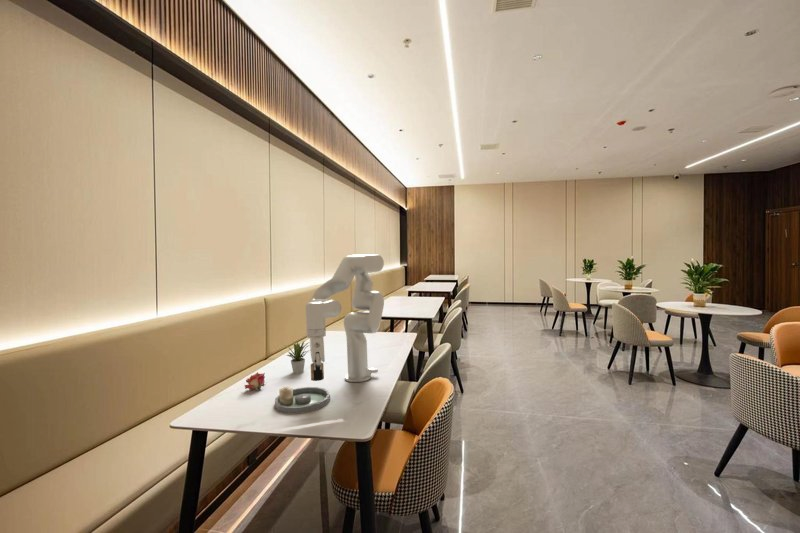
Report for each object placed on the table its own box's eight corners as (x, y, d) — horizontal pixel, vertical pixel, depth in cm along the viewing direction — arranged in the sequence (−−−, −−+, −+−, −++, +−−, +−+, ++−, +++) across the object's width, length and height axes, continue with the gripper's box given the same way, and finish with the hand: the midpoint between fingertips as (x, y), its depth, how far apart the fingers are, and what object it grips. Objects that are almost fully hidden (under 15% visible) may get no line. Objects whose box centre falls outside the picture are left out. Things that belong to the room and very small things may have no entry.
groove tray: (327, 391, 156) (327, 384, 156) (332, 410, 135) (332, 402, 135) (276, 398, 150) (276, 391, 150) (273, 419, 130) (273, 411, 129)
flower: (274, 384, 161) (267, 368, 164) (260, 387, 153) (253, 370, 155) (258, 395, 163) (252, 379, 166) (243, 399, 155) (237, 382, 157)
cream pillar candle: (293, 400, 144) (292, 385, 144) (293, 405, 139) (292, 390, 139) (280, 402, 142) (279, 387, 142) (279, 407, 138) (279, 392, 137)
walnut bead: (323, 376, 147) (322, 361, 147) (324, 380, 142) (323, 364, 142) (310, 377, 145) (310, 362, 145) (311, 381, 141) (310, 366, 141)
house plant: (320, 369, 186) (319, 338, 185) (300, 378, 174) (298, 344, 174) (301, 366, 193) (300, 336, 193) (280, 373, 182) (279, 341, 181)
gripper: (327, 335, 136) (329, 383, 137) (323, 328, 153) (325, 370, 153) (307, 337, 134) (308, 385, 135) (305, 329, 151) (307, 372, 151)
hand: (317, 377), depth 144 cm, fingers closed on walnut bead, 4 cm apart
